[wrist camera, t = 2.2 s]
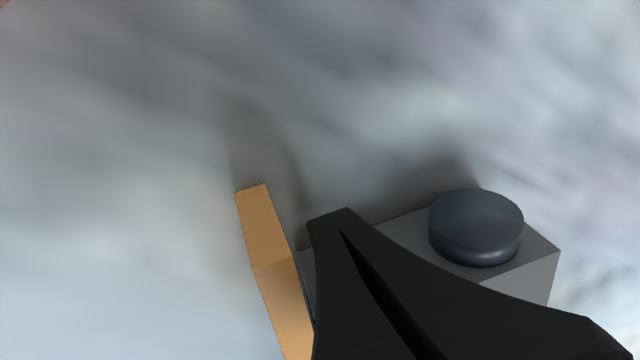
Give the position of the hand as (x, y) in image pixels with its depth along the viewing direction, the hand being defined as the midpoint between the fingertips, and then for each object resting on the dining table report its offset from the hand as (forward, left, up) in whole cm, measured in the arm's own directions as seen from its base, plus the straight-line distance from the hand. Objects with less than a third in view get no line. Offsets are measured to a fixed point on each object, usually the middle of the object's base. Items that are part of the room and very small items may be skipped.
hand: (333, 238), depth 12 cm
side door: (-6, +2, -2) cm, 6 cm away
